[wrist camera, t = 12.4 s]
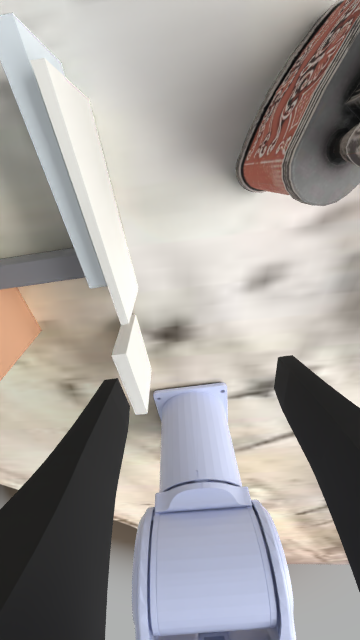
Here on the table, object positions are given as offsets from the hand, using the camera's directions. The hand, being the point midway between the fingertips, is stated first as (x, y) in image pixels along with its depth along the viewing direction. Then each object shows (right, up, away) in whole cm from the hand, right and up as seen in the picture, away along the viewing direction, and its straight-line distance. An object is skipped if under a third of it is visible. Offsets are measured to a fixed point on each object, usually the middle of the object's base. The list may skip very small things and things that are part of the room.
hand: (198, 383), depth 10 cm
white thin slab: (-5, +6, +7) cm, 11 cm away
